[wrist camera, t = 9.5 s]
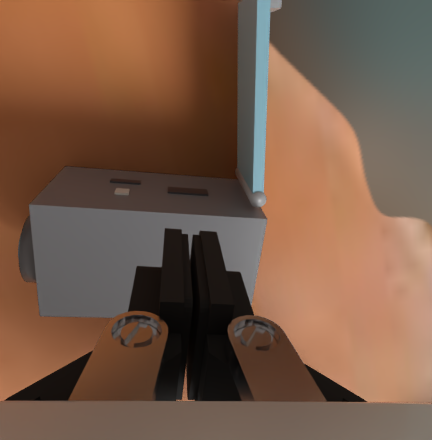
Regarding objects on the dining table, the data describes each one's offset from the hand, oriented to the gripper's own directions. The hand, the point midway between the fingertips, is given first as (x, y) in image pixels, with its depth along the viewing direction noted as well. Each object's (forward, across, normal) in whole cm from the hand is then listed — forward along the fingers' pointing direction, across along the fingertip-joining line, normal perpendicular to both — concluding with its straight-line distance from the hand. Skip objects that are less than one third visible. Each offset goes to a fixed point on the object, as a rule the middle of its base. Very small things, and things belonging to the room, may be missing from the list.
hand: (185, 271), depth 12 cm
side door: (+22, -5, -4) cm, 23 cm away
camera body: (+22, +3, +8) cm, 24 cm away
